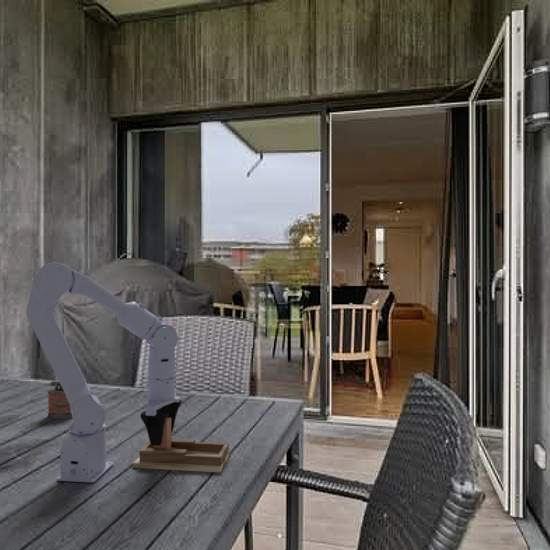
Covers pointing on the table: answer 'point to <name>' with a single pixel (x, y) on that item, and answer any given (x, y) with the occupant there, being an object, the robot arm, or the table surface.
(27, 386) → the table surface
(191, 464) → the keyhole board
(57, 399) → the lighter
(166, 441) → the key peg
